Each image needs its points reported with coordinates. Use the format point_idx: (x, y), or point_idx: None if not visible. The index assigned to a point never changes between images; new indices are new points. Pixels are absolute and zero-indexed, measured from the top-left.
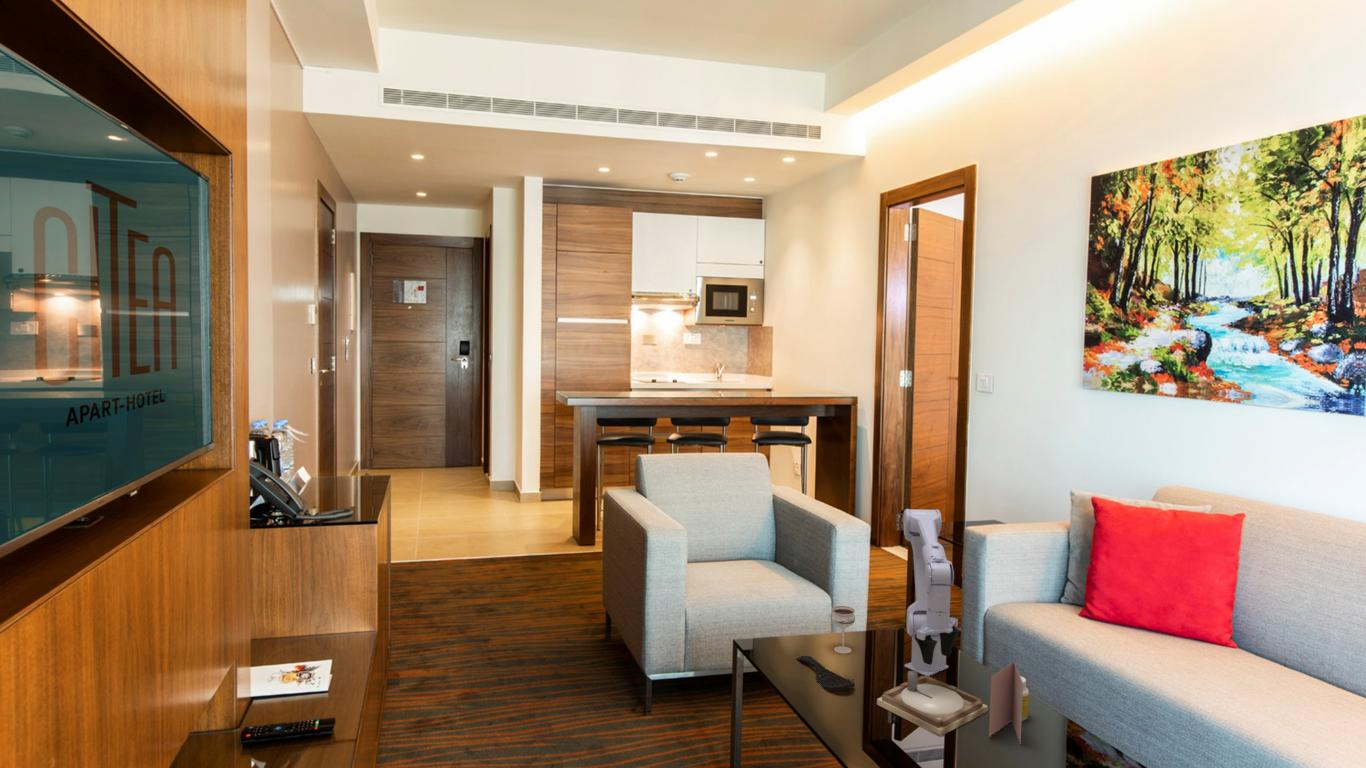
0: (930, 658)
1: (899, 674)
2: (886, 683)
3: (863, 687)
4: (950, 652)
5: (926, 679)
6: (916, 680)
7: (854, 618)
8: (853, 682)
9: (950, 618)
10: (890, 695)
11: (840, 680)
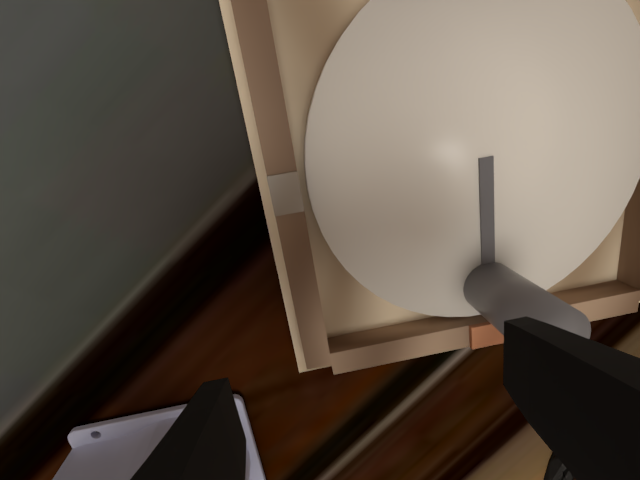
0: (604, 347)
1: (334, 449)
2: (440, 409)
3: None
4: (192, 409)
5: (328, 343)
6: (527, 289)
7: None
8: None
9: None
10: (603, 289)
11: (571, 477)
